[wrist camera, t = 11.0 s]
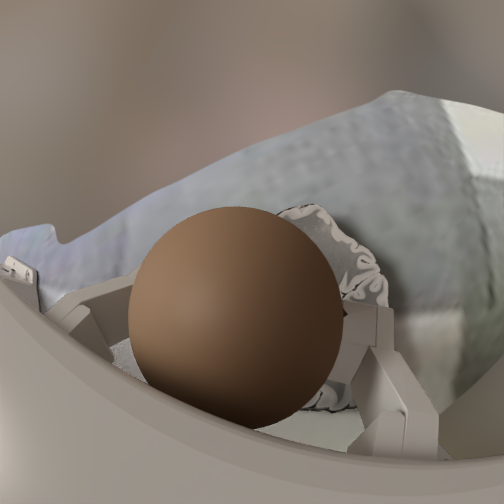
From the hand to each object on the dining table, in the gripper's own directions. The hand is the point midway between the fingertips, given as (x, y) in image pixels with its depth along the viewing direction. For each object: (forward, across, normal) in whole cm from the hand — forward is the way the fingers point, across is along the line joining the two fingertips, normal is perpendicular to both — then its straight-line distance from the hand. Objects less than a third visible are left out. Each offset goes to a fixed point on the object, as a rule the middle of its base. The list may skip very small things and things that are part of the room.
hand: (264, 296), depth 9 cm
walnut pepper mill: (+4, 0, +5) cm, 7 cm away
